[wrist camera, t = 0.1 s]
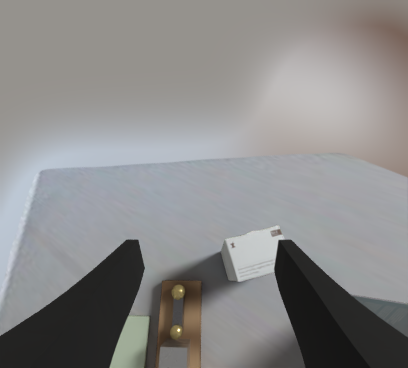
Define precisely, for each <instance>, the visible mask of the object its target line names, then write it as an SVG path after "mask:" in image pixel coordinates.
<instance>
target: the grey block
mask: <svg viewBox="0 0 408 368" xmlns="http://www.w3.org/2000/svg"><path fill="white" fill-rule="evenodd" d="M190 341H191V339H177V340H174V339H172V338H166V340H165V341H164V342H163V344H162V345H161V347H160V356H159V368H190Z"/></svg>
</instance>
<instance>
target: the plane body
mask: <svg viewBox="0 0 408 368" xmlns="http://www.w3.org/2000/svg"><path fill="white" fill-rule="evenodd" d="M176 285H182V286H183V287H184V288H185V304H184V328H183V334H182V335H181V337H180V338H179V339H191V341H190V368H201V290H202V281H185V280H165V281H162V291H161V304H160V316H159V328H158V340H157V352H156V364H155V368H159V356H160V347H161V345H162V344H163V342H164V341H165V340H166V338H172V337H171V335H170V331H171V328H172V319H173V302H174V298H173V296H172V289H173V287H174V286H176Z"/></svg>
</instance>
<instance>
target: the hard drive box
mask: <svg viewBox="0 0 408 368" xmlns="http://www.w3.org/2000/svg"><path fill="white" fill-rule="evenodd" d="M350 295H351V296H353V297H354V298H355V299H356V300H358V301H359V302H360V303H361V304H363V305H364V306H365V307H367V308H368V309H369V310H371V311H372V312H373V313H375V314H376V315H377V316H378V317H380V318H381V319H383V320H384V321H385V322H387V323H388V324H389V325H391V326H392V327H394V328H395V329H397V330H398V331H399V332H401V333H402V334H404V335H405V336H407V337H408V303H403V302H396V301H390V300H383V299H377V298H371V297H364V296H358V295H352V294H350Z"/></svg>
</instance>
